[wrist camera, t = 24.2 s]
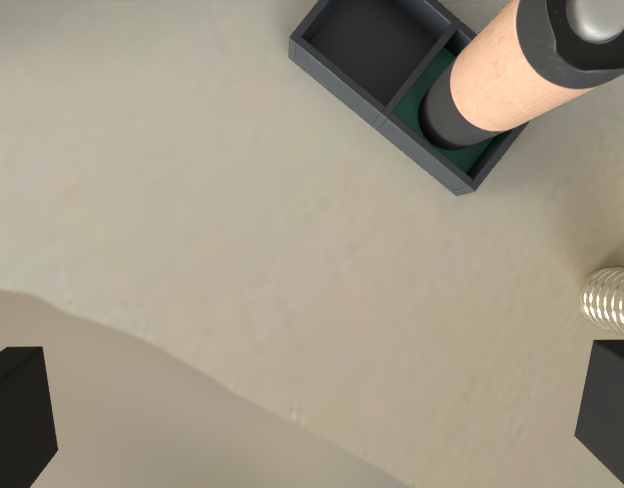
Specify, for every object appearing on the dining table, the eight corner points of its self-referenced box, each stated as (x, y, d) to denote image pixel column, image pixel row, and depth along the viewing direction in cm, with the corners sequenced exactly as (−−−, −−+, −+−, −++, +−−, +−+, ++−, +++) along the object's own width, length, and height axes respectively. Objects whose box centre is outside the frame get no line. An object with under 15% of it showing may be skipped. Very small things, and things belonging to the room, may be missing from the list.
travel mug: (479, 72, 41) (666, -87, 21) (494, 145, 41) (693, 59, 21) (407, 86, 40) (528, -62, 20) (422, 160, 40) (557, 86, 20)
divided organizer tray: (288, 57, 40) (288, 37, 36) (358, -31, 40) (367, -61, 36) (456, 196, 42) (474, 191, 37) (523, 110, 42) (549, 96, 38)
